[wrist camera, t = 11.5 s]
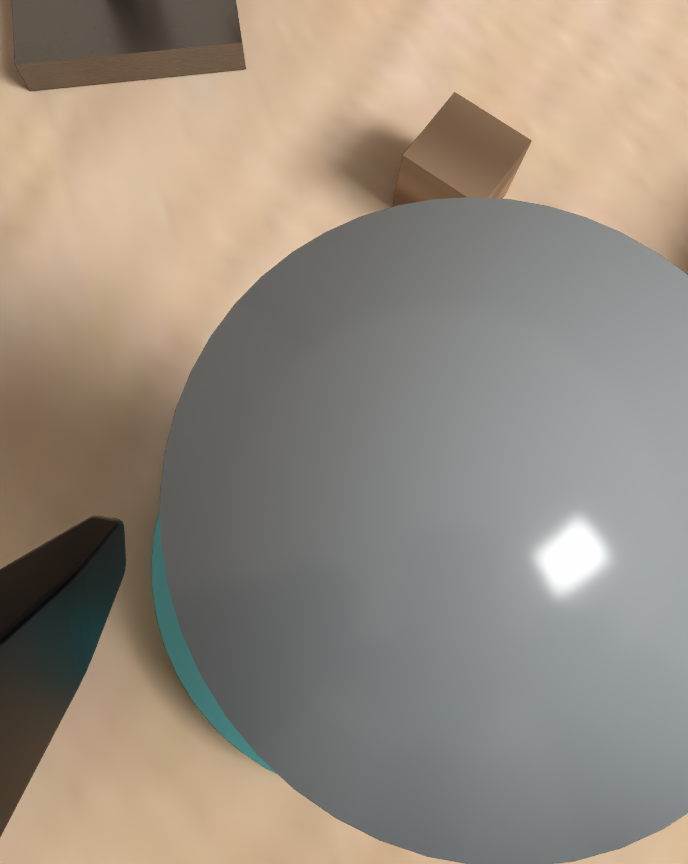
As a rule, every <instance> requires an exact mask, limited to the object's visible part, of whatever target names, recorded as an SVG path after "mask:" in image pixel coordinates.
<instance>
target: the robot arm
mask: <svg viewBox="0 0 688 864" xmlns="http://www.w3.org/2000/svg"><path fill="white" fill-rule="evenodd" d="M125 566H126V553H125V535H124V525H123V523H122V521H121V520H119V519H116V518H110V517H104V516H92V517H90V518H88V519H86V520H84V521H82V522H81V523H79V524H77V525H76V526H74V527H72V528H70V529H69V530H67V531H65V532H64V533H62V534H60V535H58V536H57V537H55V538H53V539H51V540H50V541H48V542H46V543H45V544H43V545H41V546H39V547H38V548H36V549H34V550H33V551H31V552H29V553H27V554H26V555H24V556H22V557H21V558H19V559H17V560H15V561H14V562H12V563H10V564H8V565H7V566H5V567H3V568H2V569H0V837H1V835H2V833H3V831H4V829H5V827H6V825H7V824H8V822H9V820H10V818H11V816H12V814H13V812H14V810H15V808H16V806H17V804H18V802H19V800H20V799H21V797H22V795H23V793H24V791H25V789H26V787H27V785H28V783H29V781H30V779H31V777H32V776H33V774H34V772H35V770H36V768H37V766H38V764H39V762H40V760H41V758H42V756H43V754H44V753H45V751H46V749H47V747H48V745H49V743H50V741H51V739H52V737H53V735H54V733H55V731H56V730H57V728H58V726H59V724H60V722H61V720H62V718H63V716H64V714H65V712H66V710H67V708H68V707H69V705H70V703H71V701H72V699H73V697H74V695H75V693H76V691H77V689H78V687H79V685H80V683H81V681H82V679H83V677H84V675H85V673H86V671H87V668H88V666H89V664H90V661H91V659H92V656H93V654H94V651H95V649H96V646H97V643H98V641H99V638H100V636H101V633H102V630H103V628H104V625H105V623H106V620H107V617H108V615H109V612H110V610H111V607H112V604H113V602H114V599H115V597H116V594H117V592H118V589H119V586H120V584H121V581H122V578H123V575H124V572H125Z"/></svg>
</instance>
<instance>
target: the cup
mask: <svg viewBox="0 0 688 864" xmlns="http://www.w3.org/2000/svg"><path fill="white" fill-rule="evenodd" d="M160 528H161V546H162V552H163V559H164V565H165V572H166V578H167V585H168V589H169V592H170V596H171V599H172V603H173V606H174V609H175V613H176V616H177V620H178V623H179V626H180V630H181V633H182V635H183V637H184V639H185V642H186V644H187V646H188V648H189V651H190V653H191V655H192V657H193V660H194V662H195V664H196V666H197V669H198V671H199V673H200V675H201V677H202V679H203V680H204V682H205V683H206V685H207V687H208V688H209V690H210V692H211V693H212V695H213V696H214V698H215V700H216V701H217V703H218V705H219V706H220V708H221V709H222V711H223V713H224V714H225V716H226V717H227V719H228V720H229V721H230V722H231V723H232V725H233V726H234V727H235V728H236V730H237V731H238V732H239V733H240V734H241V736H242V737H243V738H244V739H245V741H246V742H247V743H248V744H249V745H250V747H251V748H252V749H253V750H254V751H255V753H256V754H257V755H258V756H259V757H260V758H261V759H262V760H263V761H264V762H265V763H267V764H268V765H269V766H270V767H271V768H272V769H273V770H274V771H275V772H276V773H277V774H278V775H279V776H281V777H282V778H283V779H284V780H285V781H286V782H287V783H288V784H289V785H290V786H291V787H292V788H293V789H295V790H296V791H298V792H299V793H300V794H302V795H303V796H305V797H306V798H308V799H309V800H310V801H312V802H313V803H315V804H316V805H318V806H319V807H321V808H322V809H323V810H325V811H326V812H328V813H329V814H331V815H332V816H333V817H335V818H337V819H339V820H341V821H343V822H345V823H347V824H348V825H350V826H352V827H354V828H356V829H358V830H360V831H362V832H364V833H366V834H368V835H370V836H372V837H374V838H376V839H378V840H380V841H383V842H386V843H389V844H392V845H395V846H398V847H401V848H404V849H407V850H410V851H413V852H416V853H418V854H421V855H424V856H427V857H433V858H438V859H444V860H449V861H455V862H460V863H466V864H556V863H564V862H573V861H577V860H581V859H584V858H588V857H591V856H595V855H599V854H602V853H606V852H609V851H613V850H617V849H620V848H622V847H625V846H627V845H629V844H631V843H633V842H636V841H638V840H640V839H642V838H644V837H647V836H649V835H651V834H653V833H656V832H658V831H660V830H662V829H664V828H666V827H667V826H669V825H670V824H672V823H673V822H675V821H676V820H678V819H679V818H681V817H682V816H684V815H685V814H687V813H688V275H687V274H686V273H685V272H683V271H682V270H680V269H679V268H678V267H676V266H675V265H673V264H672V263H671V262H669V261H668V260H666V259H665V258H664V257H662V256H661V255H660V254H658V253H657V252H655V251H653V250H652V249H650V248H648V247H646V246H644V245H643V244H641V243H639V242H637V241H636V240H634V239H632V238H630V237H628V236H627V235H625V234H623V233H621V232H619V231H617V230H614V229H612V228H610V227H607V226H605V225H602V224H600V223H598V222H595V221H593V220H591V219H588V218H586V217H583V216H579V215H576V214H573V213H569V212H566V211H563V210H559V209H556V208H553V207H549V206H544V205H539V204H533V203H527V202H522V201H516V200H511V199H495V198H478V197H465V198H447V199H432V200H427V201H421V202H415V203H410V204H404V205H398V206H394V207H391V208H388V209H384V210H381V211H378V212H375V213H371V214H368V215H365V216H361V217H359V218H356V219H354V220H352V221H350V222H347V223H345V224H343V225H341V226H338V227H336V228H334V229H332V230H330V231H327V232H325V233H323V234H322V235H320V236H318V237H317V238H315V239H313V240H312V241H310V242H308V243H307V244H305V245H304V246H302V247H300V248H299V249H297V250H295V251H294V252H292V253H291V254H289V255H288V256H287V257H286V258H284V259H283V260H282V261H281V262H279V263H278V264H277V265H276V266H274V267H273V268H272V269H271V270H269V271H268V272H267V273H266V274H264V275H263V276H262V277H261V278H260V279H259V280H258V281H257V282H256V283H255V284H254V285H253V286H252V287H251V288H250V289H249V290H248V291H247V292H246V293H245V294H244V295H243V296H242V297H241V298H240V299H239V300H238V301H237V303H236V304H235V305H234V306H233V307H232V309H231V310H230V311H229V313H228V314H227V315H226V317H225V318H224V319H223V321H222V322H221V323H220V325H219V326H218V327H217V329H216V330H215V331H214V333H213V334H212V335H211V337H210V338H209V340H208V342H207V344H206V346H205V347H204V349H203V351H202V353H201V355H200V356H199V358H198V360H197V362H196V364H195V365H194V367H193V369H192V371H191V372H190V375H189V378H188V380H187V383H186V385H185V388H184V390H183V393H182V395H181V398H180V400H179V403H178V405H177V408H176V410H175V414H174V418H173V422H172V426H171V430H170V434H169V438H168V442H167V446H166V450H165V455H164V464H163V473H162V482H161V490H160Z"/></svg>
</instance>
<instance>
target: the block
mask: <svg viewBox="0 0 688 864" xmlns="http://www.w3.org/2000/svg"><path fill="white" fill-rule="evenodd" d="M531 141H532V140H530V139H528V138H527V137H525V136H524V135H522V134H520V133H519V132H517V131H516V130H514V129H512V128H511V127H509V126H508V125H506V124H505V123H503V122H501V121H500V120H498V119H497V118H495V117H493V116H492V115H490V114H489V113H487V112H486V111H484V110H482V109H481V108H479V107H478V106H476V105H474V104H473V103H471V102H470V101H468V100H467V99H465V98H463V97H462V96H460V95H459V94H457V93H455V92H454V93H453V95H452V96H451V97H450V98H449V99H448V101H447V102H446V103H445V104H444V106H443V107H442V108H441V109H440V110H439V112H438V113H437V114H436V115H435V116H434V118H433V119H432V120H431V121H430V123H429V124H428V125H427V126H426V127H425V129H424V130H423V131H422V132H421V133H420V135H419V136H418V137H417V138H416V140H415V141H414V142H413V143H412V144H411V146H410V147H409V148H408V149H407V150H406V152H405V153H404V154H403V156H402V161H401V166H400V171H399V176H398V181H397V186H396V191H395V196H394V201H393V206H392V207H394V206H398V205H404V204H410V203H415V202H421V201H427V200H432V199H447V198H465V197H478V198H495V199H503V197H504V196H505V195H506V192H507V190H508V188H509V186H510V184H511V182H512V180H513V178H514V176H515V174H516V172H517V170H518V168H519V166H520V164H521V162H522V160H523V158H524V156H525V153H526V151H527V149H528V147H529V145H530V143H531Z"/></svg>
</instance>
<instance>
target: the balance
mask: <svg viewBox="0 0 688 864" xmlns="http://www.w3.org/2000/svg"><path fill="white" fill-rule="evenodd" d="M12 14H13V35H14V57H15V66H16V68H17V69H18V71H19V73H20V74H21V76H22V78H23V80H24V81H25V83H26V85H27V86H28V88H29V90H30V91H35V90H45V89H55V88H64V87H74V86H84V85H94V84H104V83H114V82H123V81H133V80H143V79H153V78H163V77H173V76H182V75H192V74H202V73H212V72H222V71H232V70H241V69H246V67H245V60H244V53H243V46H242V39H241V32H240V25H239V19H238V12H237V5H236V0H12Z"/></svg>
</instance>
